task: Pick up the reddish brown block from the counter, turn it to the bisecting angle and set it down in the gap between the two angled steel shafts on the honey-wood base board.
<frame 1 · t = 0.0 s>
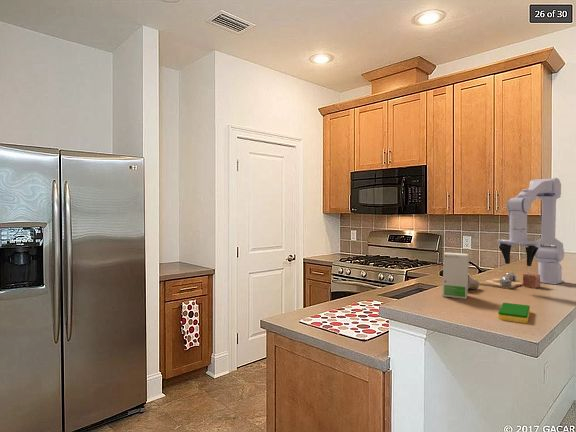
hand: (518, 264, 145), 10 cm above the table, tool pointing down, fingers open, 7 cm apart
dish sponge: (514, 317, 113), on the table
skincare box: (455, 296, 138), on the table
base board: (502, 283, 159), on the table
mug: (465, 290, 150), on the table
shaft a: (509, 282, 162), resting on base board
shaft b: (505, 287, 152), resting on base board
reddish brown block: (531, 286, 153), on the table
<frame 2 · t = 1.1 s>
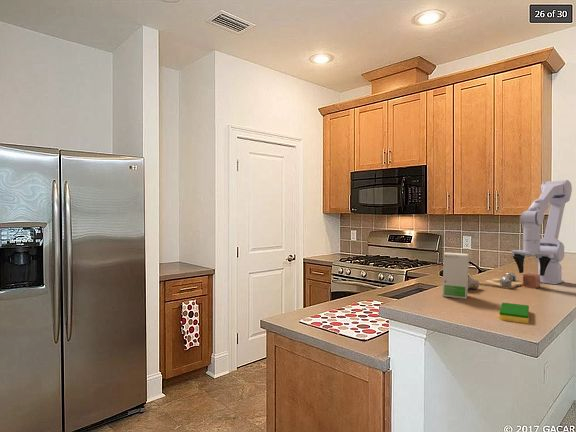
hand: (531, 274, 153), 5 cm above the table, tool pointing down, fingers open, 7 cm apart
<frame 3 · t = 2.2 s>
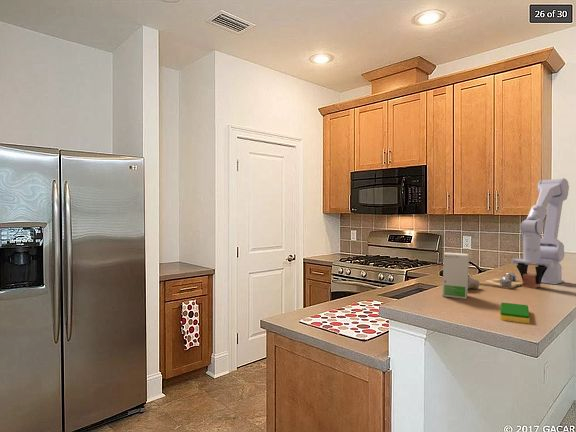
hand: (531, 283, 153), 1 cm above the table, tool pointing down, fingers closed on reddish brown block, 4 cm apart
reddish brown block: (531, 286, 153), on the table, touching gripper
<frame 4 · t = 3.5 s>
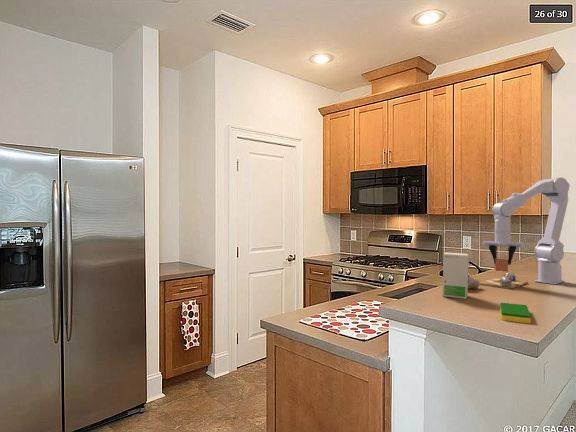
hand: (502, 263, 158), 8 cm above the table, tool pointing down, fingers closed on reddish brown block, 4 cm apart
reddish brown block: (502, 270, 158), point 6 cm above the table, touching gripper
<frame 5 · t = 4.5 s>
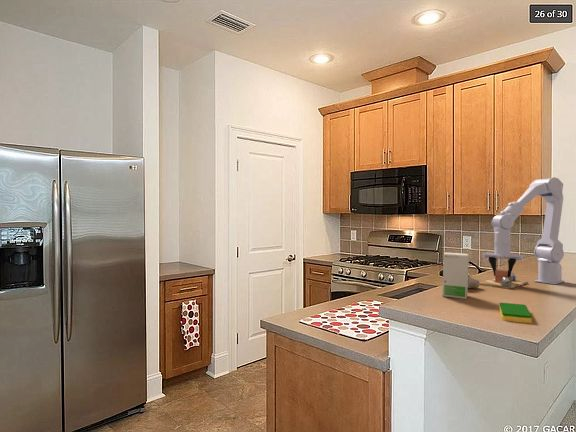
hand: (502, 276, 158), 3 cm above the table, tool pointing down, fingers closed on reddish brown block, 4 cm apart
reddish brown block: (502, 282, 158), point 1 cm above the table, touching base board, gripper
when the fingers open (3 cm above the table, at t = 4.9 s): reddish brown block stays where it is, resting on base board.
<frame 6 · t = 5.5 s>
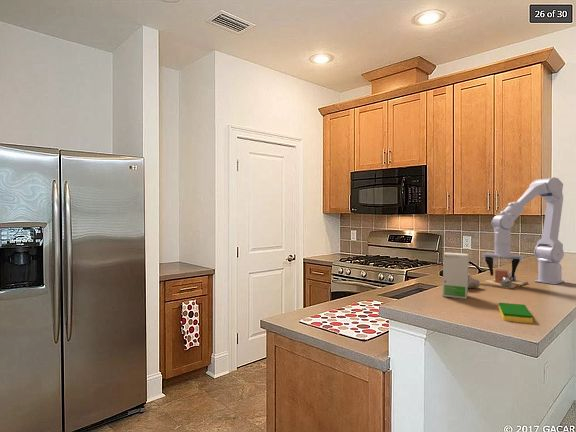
hand: (502, 276, 158), 3 cm above the table, tool pointing down, fingers open, 7 cm apart
reddish brown block: (502, 282, 158), point 1 cm above the table, touching base board
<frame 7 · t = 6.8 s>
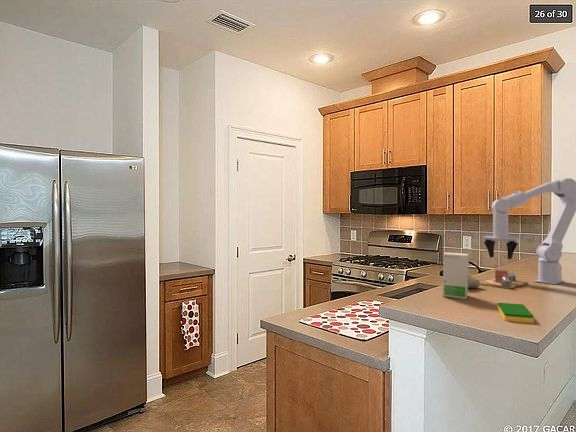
hand: (500, 258, 166), 10 cm above the table, tool pointing down, fingers open, 7 cm apart
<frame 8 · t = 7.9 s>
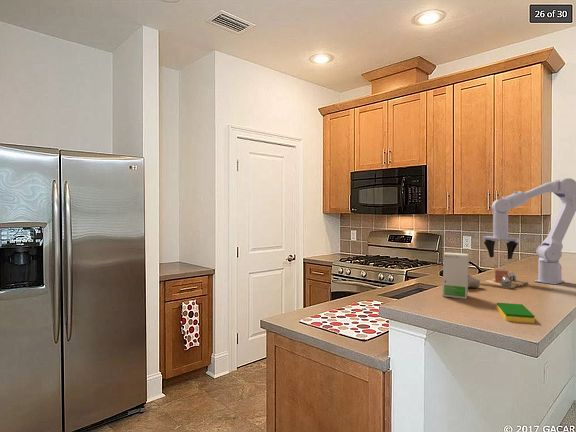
hand: (500, 258, 166), 10 cm above the table, tool pointing down, fingers open, 7 cm apart
at the end: reddish brown block 0.2 cm from the target spot, point 0.9 cm above the table; reddish brown block tilted 0°; the gripper is holding nothing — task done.
